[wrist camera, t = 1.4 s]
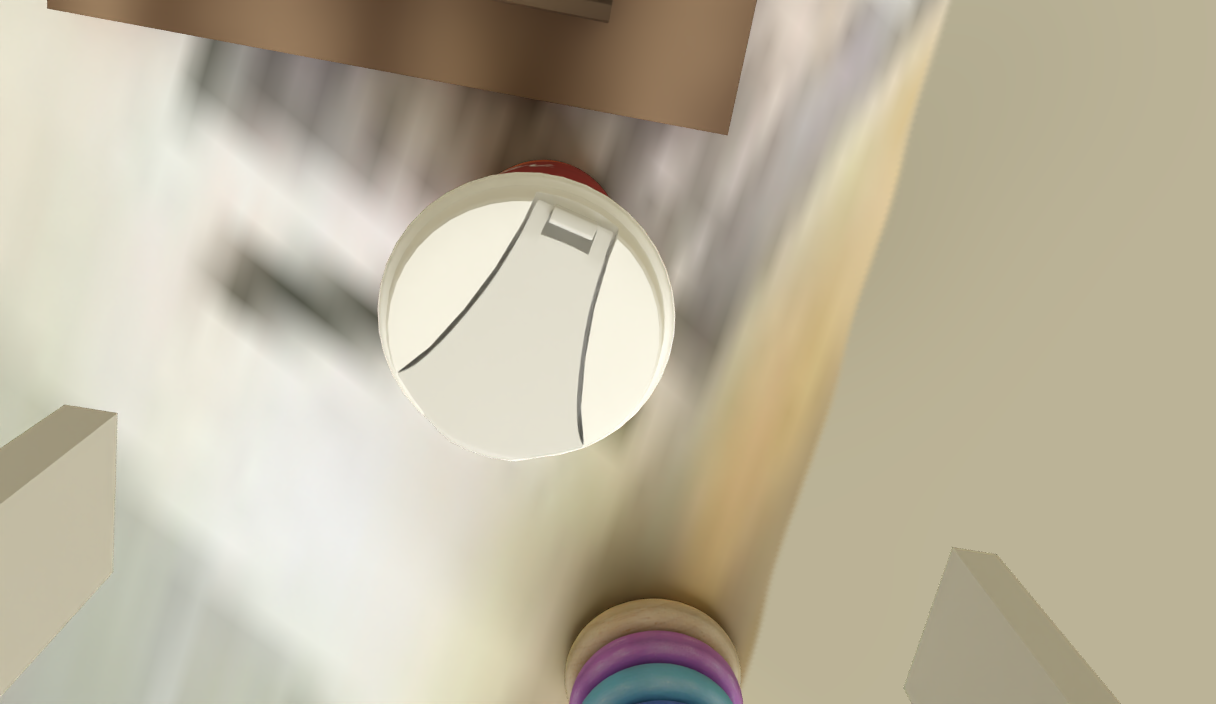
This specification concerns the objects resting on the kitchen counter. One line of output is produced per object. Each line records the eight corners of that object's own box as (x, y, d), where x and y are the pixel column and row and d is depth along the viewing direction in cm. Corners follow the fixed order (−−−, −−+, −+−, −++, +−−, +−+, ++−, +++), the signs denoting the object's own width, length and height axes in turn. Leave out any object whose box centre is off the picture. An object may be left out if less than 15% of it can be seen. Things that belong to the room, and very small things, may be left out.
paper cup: (490, 96, 34) (432, 124, 21) (676, 180, 35) (733, 258, 22) (417, 283, 36) (322, 417, 23) (594, 356, 37) (601, 524, 24)
